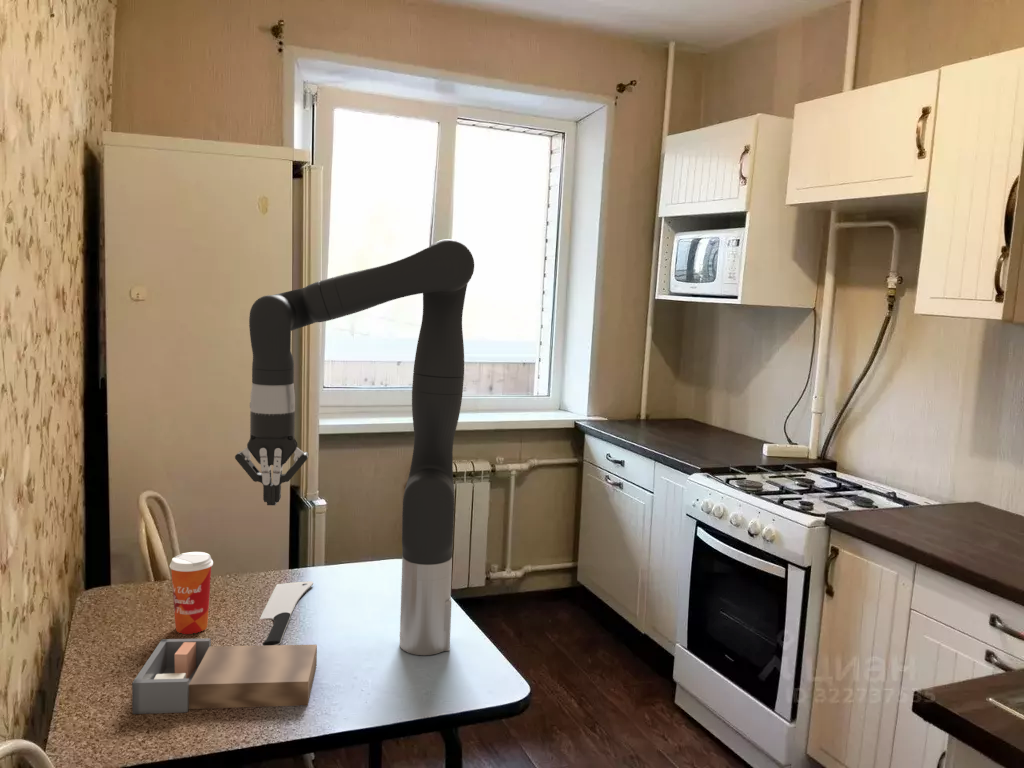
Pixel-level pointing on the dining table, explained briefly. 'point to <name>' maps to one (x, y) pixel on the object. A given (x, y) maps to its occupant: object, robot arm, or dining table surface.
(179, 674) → the cream block
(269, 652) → the walnut board
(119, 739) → the dining table surface
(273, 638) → the kitchen cleaver
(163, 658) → the box
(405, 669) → the dining table surface
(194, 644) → the terracotta tile
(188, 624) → the paper cup
